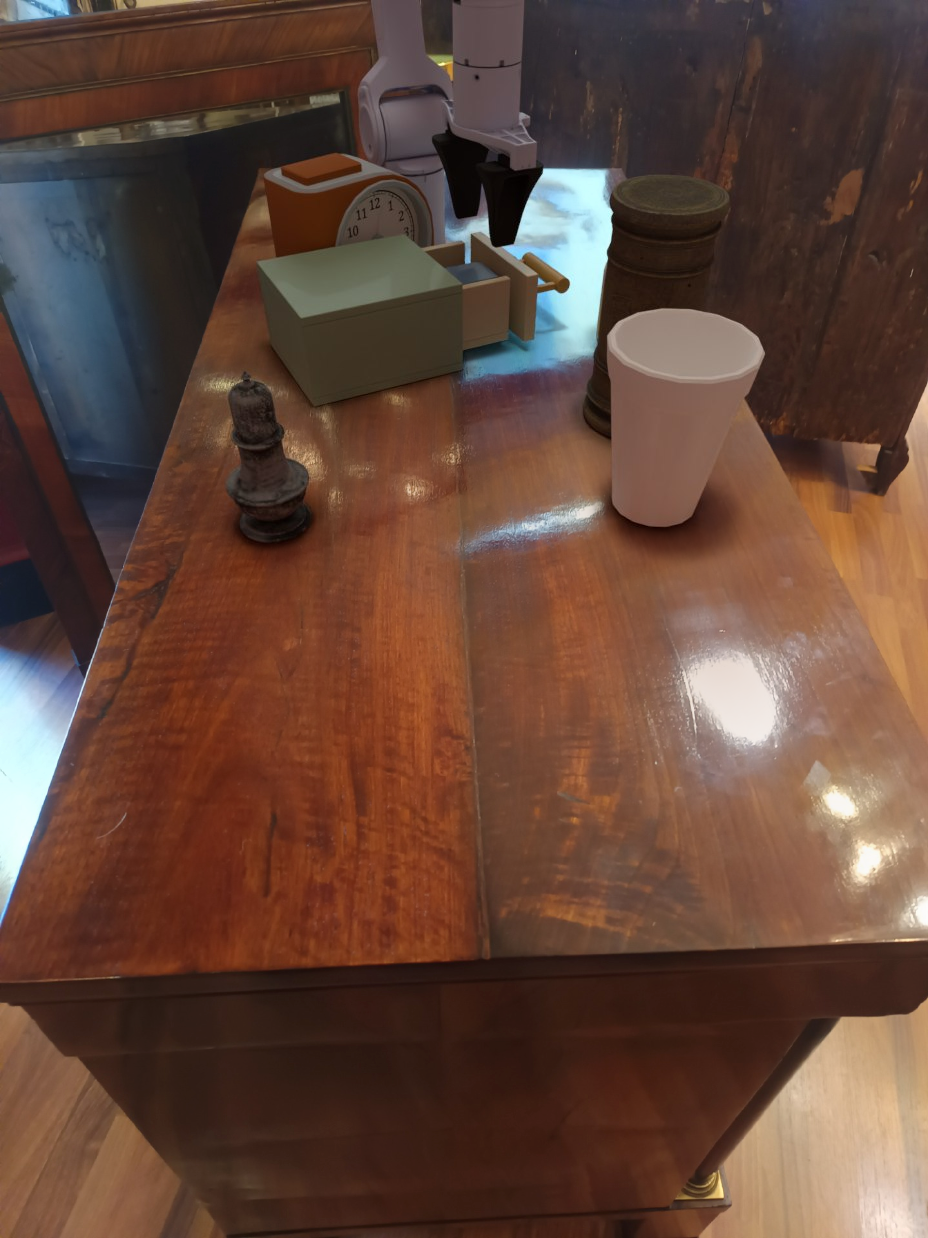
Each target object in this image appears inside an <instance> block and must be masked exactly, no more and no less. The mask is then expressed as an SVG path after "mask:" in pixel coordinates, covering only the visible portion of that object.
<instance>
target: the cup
mask: <svg viewBox="0 0 928 1238" xmlns="http://www.w3.org/2000/svg"><path fill="white" fill-rule="evenodd" d="M765 355H766V353H765V350H764V347H763V345H762V343H761V340H760V338H759V337H758V336H757V334H755V333H753V332H752V331H751V330H750V329H749V328H748V327H746V326H745V325H743V324H742V323H740V322H737V321H736V320H732V319H730V318H727V317H725V316H723V315H720V314H717V313H712V312H706V311H697V310H692V309H656V310H650V311H644V312H639V313H636V314H633V315H631V316H629V317H627V318H625V319H623V320H621V321H619V322H618V323H616V325H615V326H614V327H613V329H612V330H611V331H610V333H609V334H608V335H607V365H608V373H609V377H610V380H611V437H610V439H611V501H612V506H613V507H614V508H615V509H616V510H617V512H618V513H619V514H620V515H621V516H623V517H625V518H626V519H628V520H629V521H630V522H634V523H636V524H639V525H644V526H648V527H659V528H660V527H661V528H662V527H663V528H667V527H671V526H675V525H676V526H677V525H680V524H683V523H684V522H685V521H687V520H689V519H690V518H692V517H693V514H694V512H695V510H696V508H697V506H698V504H699V501H700V499H701V497H702V495H703V492H704V490H705V487H706V485H707V483H708V481H709V479H710V477H711V474H712V472H713V470H714V467H715V465H716V462H717V460H718V458H719V456H720V453H721V451H722V449H723V447H724V445H725V442H726V440H727V438H728V435H729V434H730V431H731V429H732V426H733V424H734V422H735V419H736V417H737V415H738V413H739V410H740V409H741V406H742V404H743V401H744V400H745V398H746V396H748V394H750V391H751V389H752V387H753V384H754V382H755V380H756V377H757V376H758V375H757V374H758V372H759V370H760V368H761V365H762V363H763V361H764V358H765Z"/></svg>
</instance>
